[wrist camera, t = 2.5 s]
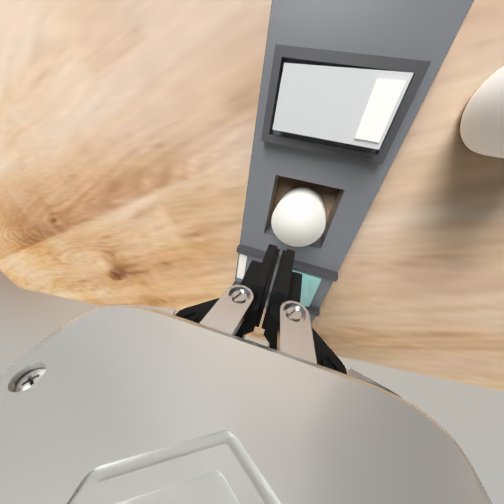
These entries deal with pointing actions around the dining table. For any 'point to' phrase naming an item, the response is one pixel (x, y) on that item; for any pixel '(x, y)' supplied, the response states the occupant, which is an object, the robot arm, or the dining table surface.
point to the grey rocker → (339, 102)
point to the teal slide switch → (308, 287)
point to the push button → (299, 217)
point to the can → (485, 118)
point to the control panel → (331, 152)
